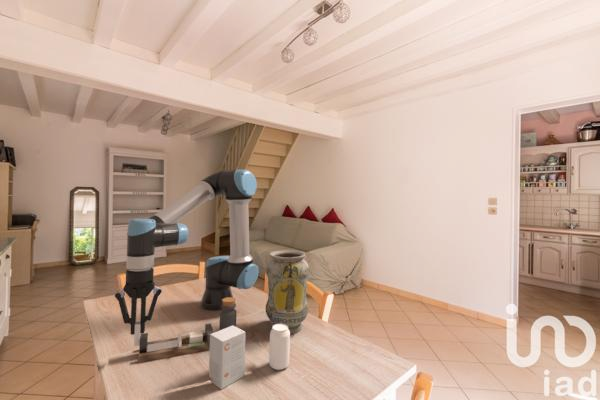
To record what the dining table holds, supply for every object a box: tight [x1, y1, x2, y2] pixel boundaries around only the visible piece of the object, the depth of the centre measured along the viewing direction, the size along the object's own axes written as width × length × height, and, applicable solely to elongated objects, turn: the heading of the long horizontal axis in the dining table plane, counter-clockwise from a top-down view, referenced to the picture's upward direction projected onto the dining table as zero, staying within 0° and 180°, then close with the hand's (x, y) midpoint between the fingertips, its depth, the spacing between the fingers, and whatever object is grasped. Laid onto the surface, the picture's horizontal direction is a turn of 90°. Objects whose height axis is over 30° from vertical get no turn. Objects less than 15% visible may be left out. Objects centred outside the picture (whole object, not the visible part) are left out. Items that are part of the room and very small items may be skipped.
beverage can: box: [268, 324, 291, 371], centre depth 86 cm, size 6×6×12 cm
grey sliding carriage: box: [138, 332, 182, 355], centre depth 89 cm, size 12×7×6 cm, turn 115°
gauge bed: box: [137, 323, 215, 365], centre depth 92 cm, size 22×9×6 cm, turn 115°
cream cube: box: [188, 330, 203, 344], centre depth 94 cm, size 4×4×4 cm
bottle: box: [218, 297, 238, 331], centre depth 100 cm, size 6×6×15 cm
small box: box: [208, 325, 246, 390], centre depth 79 cm, size 8×6×13 cm
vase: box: [265, 249, 310, 335], centre depth 113 cm, size 18×18×30 cm
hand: (137, 343), depth 87 cm, fingers closed
